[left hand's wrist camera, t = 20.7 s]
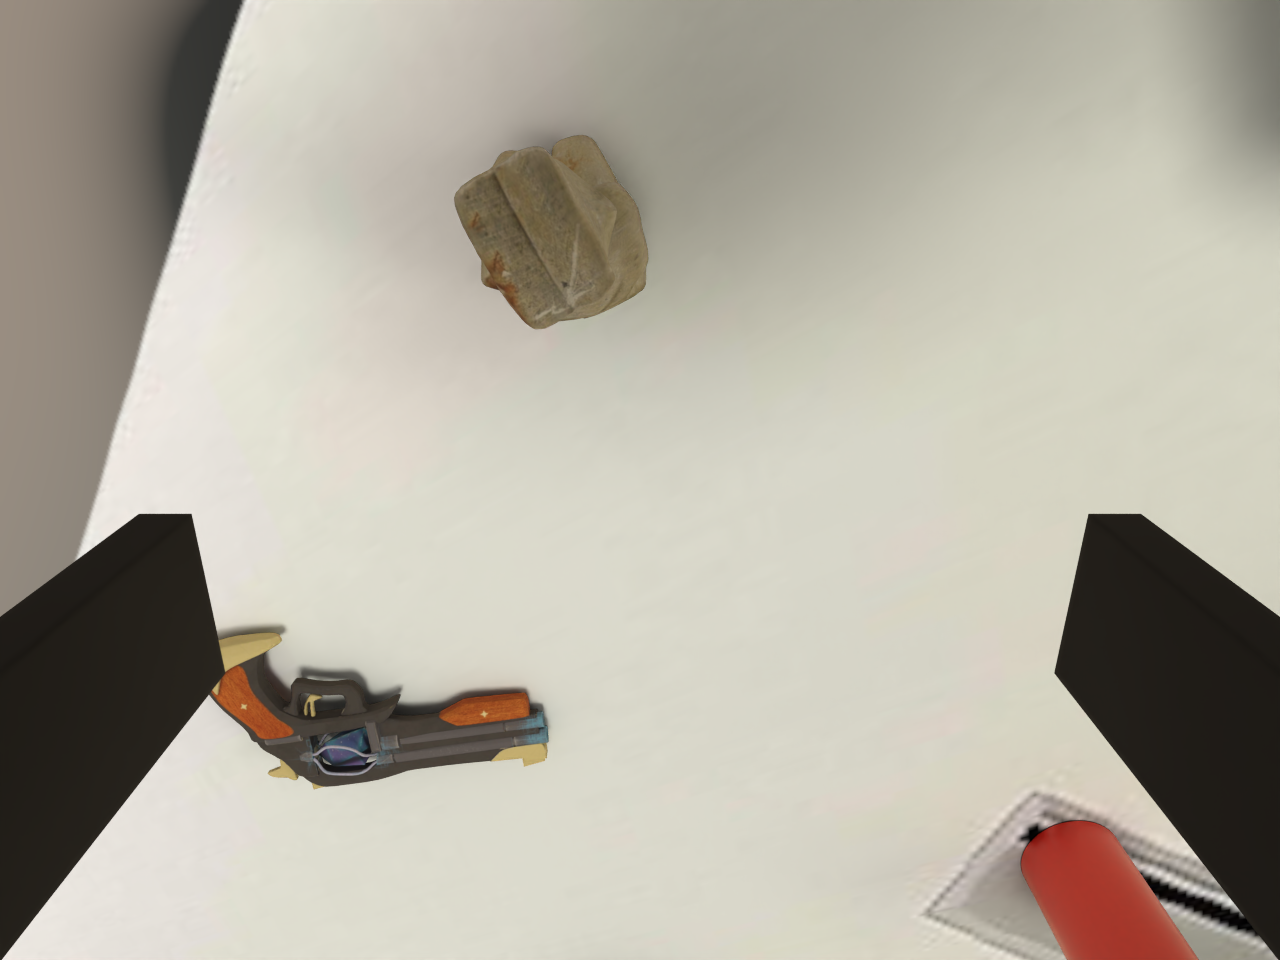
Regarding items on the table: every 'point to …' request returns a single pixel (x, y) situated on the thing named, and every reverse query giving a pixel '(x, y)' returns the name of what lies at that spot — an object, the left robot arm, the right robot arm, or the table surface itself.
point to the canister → (1098, 897)
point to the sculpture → (555, 232)
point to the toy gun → (367, 724)
